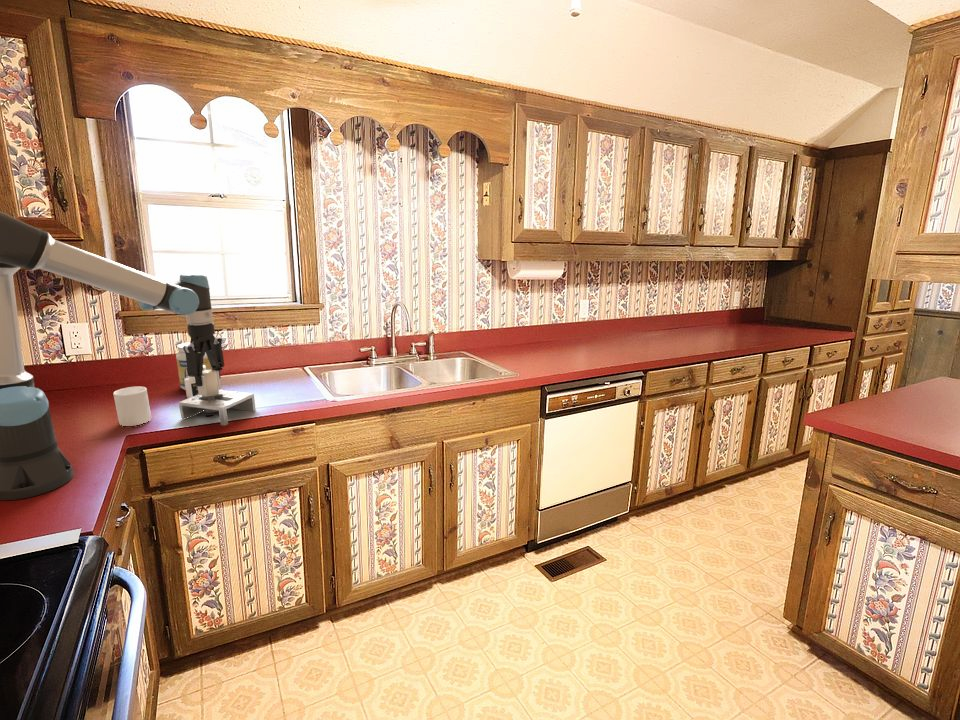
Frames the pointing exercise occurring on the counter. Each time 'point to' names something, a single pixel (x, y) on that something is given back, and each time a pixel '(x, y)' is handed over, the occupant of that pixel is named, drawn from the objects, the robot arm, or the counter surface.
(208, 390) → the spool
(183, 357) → the supplement tub
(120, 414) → the mug
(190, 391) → the medicine bottle
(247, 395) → the white table-shaped stand
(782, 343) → the counter surface
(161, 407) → the counter surface
